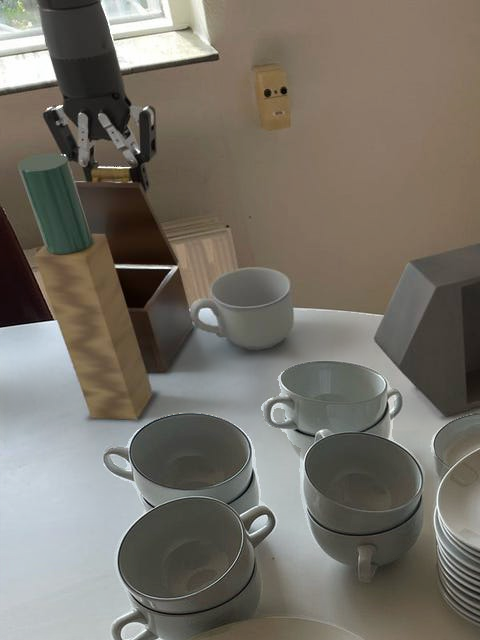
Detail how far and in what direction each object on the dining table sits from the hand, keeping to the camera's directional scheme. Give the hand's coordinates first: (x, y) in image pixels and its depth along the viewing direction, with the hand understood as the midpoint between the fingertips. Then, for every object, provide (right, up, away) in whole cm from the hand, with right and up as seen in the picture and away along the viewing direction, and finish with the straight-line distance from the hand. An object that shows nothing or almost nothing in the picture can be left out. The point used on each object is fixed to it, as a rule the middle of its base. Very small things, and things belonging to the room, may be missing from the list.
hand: (120, 193), depth 130 cm
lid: (0, -4, 0) cm, 4 cm away
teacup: (+15, -17, +9) cm, 24 cm away
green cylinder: (0, -13, -17) cm, 21 cm away
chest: (0, -17, +9) cm, 20 cm away
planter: (+35, -24, -11) cm, 44 cm away
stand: (+1, -28, -2) cm, 28 cm away
